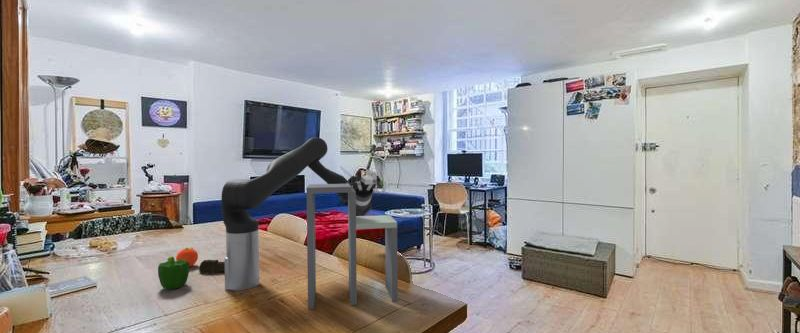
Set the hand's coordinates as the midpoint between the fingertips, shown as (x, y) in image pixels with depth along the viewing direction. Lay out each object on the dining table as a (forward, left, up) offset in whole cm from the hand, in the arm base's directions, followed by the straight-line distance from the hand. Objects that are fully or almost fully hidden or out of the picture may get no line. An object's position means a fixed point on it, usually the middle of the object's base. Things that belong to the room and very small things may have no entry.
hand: (366, 173), depth 120 cm
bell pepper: (-60, -2, -35) cm, 70 cm away
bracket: (0, -5, -3) cm, 5 cm away
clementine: (-64, +20, -35) cm, 76 cm away
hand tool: (-48, +10, -35) cm, 60 cm away
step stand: (-6, -21, -34) cm, 41 cm away
